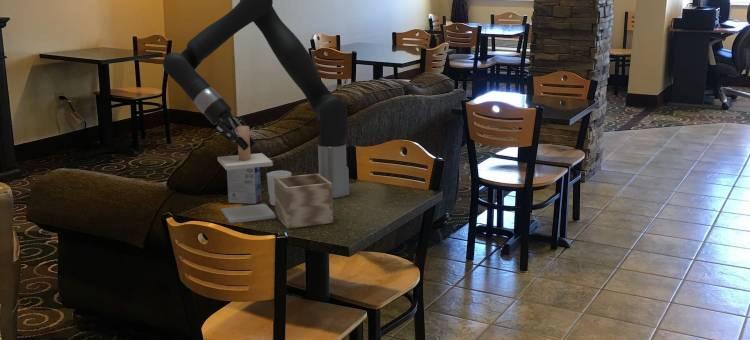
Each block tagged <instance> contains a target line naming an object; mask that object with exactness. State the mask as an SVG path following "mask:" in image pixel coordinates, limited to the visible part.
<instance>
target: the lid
mask: <svg viewBox="0 0 750 340" xmlns="http://www.w3.org/2000/svg"><path fill="white" fill-rule="evenodd" d="M249 130H250V126H248V125H247V126H238V127H237V132H238V133H239V135H240V137H242V138H243V139H244V140H245V141H246V142H247V143H248V145H249V147H248V148H247V149H246V150H243V149H242V148H241V147H240V146H239V145H238V144H237V151H238V152H237V153H238V154H236V155H226V156H224V155H222V156H217V161H218V163H219V164H220V165H221V166H222V167H223V168H224V170H225V171H227V170H232V169H243V168H254V167H260V168H264V167H273V166H274V162H273V161H272V160H271V159H270V158H269V157H267V156H266V155H265V154H264V153H262V152H260V153H251V148H250V137H251V136H250V131H249Z"/></svg>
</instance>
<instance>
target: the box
mask: <svg viewBox="0 0 750 340" xmlns="http://www.w3.org/2000/svg"><path fill="white" fill-rule="evenodd" d="M274 188H275V215H276V219H278V221H280V222H281V223H282V224H283V225H284V226H285V227H286V228H287V229H293V228H301V227H308V226H311V227H312V226H317V225H326V224H334V201H333V199H334V198H333V195H332V183H331V182H329V181H328V180H327V179H325V178H324V177H323V176H321V175H320V174H319V173H311V174H302V175H293V176H292V175H291V176H289V177H279V178H274Z"/></svg>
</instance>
